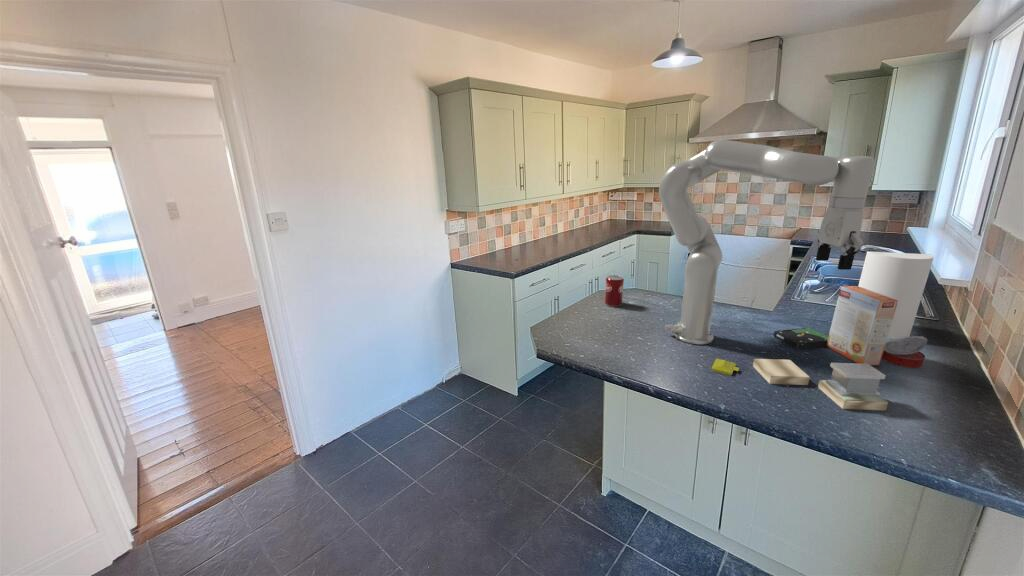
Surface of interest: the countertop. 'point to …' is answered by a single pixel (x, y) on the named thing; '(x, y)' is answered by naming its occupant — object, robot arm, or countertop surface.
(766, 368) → the stand
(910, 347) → the canned food
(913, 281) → the cylinder
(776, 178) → the robot arm
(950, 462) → the countertop surface
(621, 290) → the soda can
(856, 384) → the housing
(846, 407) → the stand
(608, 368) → the countertop surface
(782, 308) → the countertop surface
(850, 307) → the cracker box
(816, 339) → the disk drive
